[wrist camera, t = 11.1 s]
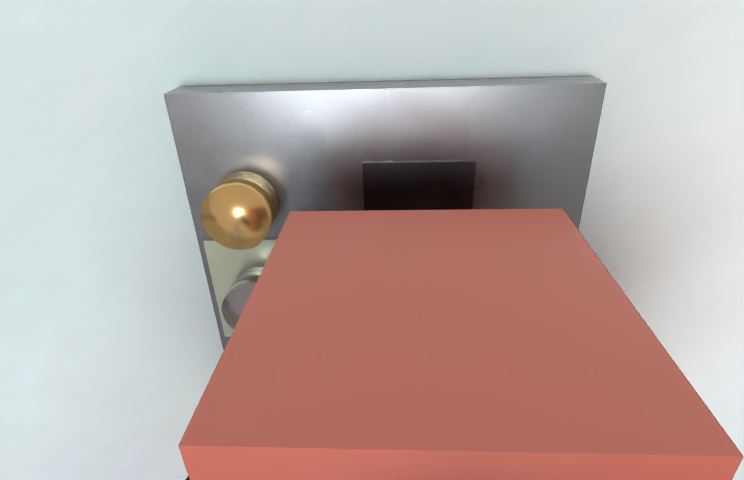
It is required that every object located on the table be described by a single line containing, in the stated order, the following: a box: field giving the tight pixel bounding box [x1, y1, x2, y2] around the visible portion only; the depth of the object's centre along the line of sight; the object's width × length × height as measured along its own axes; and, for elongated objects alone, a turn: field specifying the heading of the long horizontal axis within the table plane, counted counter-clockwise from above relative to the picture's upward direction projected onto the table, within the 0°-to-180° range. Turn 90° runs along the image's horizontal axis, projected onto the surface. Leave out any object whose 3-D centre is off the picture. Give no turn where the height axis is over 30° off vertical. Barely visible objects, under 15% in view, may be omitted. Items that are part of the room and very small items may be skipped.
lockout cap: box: [179, 209, 743, 480], centre depth 9 cm, size 8×6×6 cm
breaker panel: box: [164, 76, 606, 350], centre depth 15 cm, size 14×11×2 cm
